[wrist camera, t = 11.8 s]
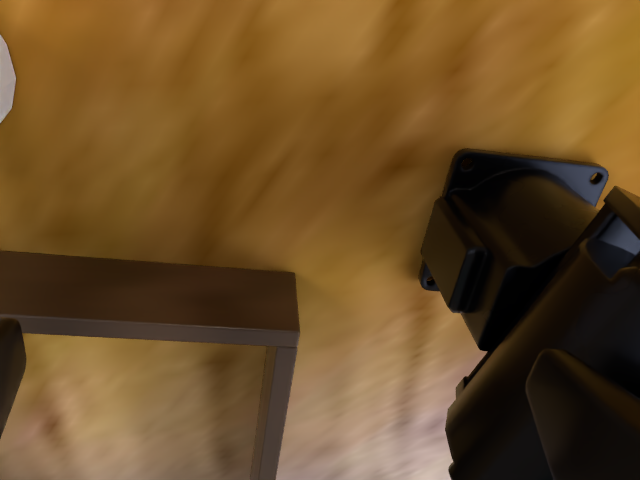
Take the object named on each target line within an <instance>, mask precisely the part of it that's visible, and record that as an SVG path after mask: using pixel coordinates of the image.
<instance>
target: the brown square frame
mask: <svg viewBox="0 0 640 480" xmlns="http://www.w3.org/2000/svg"><path fill="white" fill-rule="evenodd" d="M0 317H3V318H15V319H17V320H18V321H19V323H20V325H21V329H22V333H31V334H50V335H69V336H88V337H107V338H126V339H145V340H163V341H182V342H201V343H220V344H239V345H258V346H267V352H266V360H265V368H264V375H263V383H262V391H261V398H260V406H259V414H258V421H257V429H256V437H255V445H254V452H253V460H252V468H251V475H250V480H276V474H277V468H278V462H279V456H280V450H281V444H282V438H283V432H284V426H285V420H286V414H287V408H288V402H289V396H290V390H291V384H292V378H293V373H294V367H295V361H296V355H297V346H298V342H299V336H300V326H299V314H298V302H297V291H296V279H295V273H290V272H277V271H264V270H250V269H237V268H223V267H210V266H197V265H183V264H170V263H157V262H143V261H130V260H117V259H103V258H90V257H77V256H63V255H50V254H36V253H23V252H10V251H0Z"/></svg>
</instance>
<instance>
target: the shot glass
mask: <svg viewBox="0 0 640 480" xmlns="http://www.w3.org/2000/svg"><path fill="white" fill-rule="evenodd" d="M15 83H16V76H15V72H14V69H13V65H12V61H11V58H10V54H9V51H8V47H7V44H6V42H5V41H4V40H3V38H2V37H1V35H0V123H1V122H2V121H3V119H4V118H5V117H6V115H7V114H8V113H9V111H10V110H11V109H12V103H13V97H14V90H15Z"/></svg>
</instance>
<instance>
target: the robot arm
mask: <svg viewBox="0 0 640 480" xmlns="http://www.w3.org/2000/svg"><path fill="white" fill-rule="evenodd" d="M466 158H471V161H470V163H469V164H468V165H467V166H463V167H462V166H461V164H462V162H463V160H465V159H466ZM595 173H597V176H596V177H595V178H594V179H593V180H590V178H591V177H592V175H594V174H595ZM608 176H609V175H608V171H607V170H606V169H605V168H604V167H602V166H601V165H599V164H596V163H588V162H579V161H571V160H562V159H554V158H545V157H537V156H528V155H520V154H511V153H503V152H494V151H486V150H477V149H469V148H467V149H462V150H460V151H458V152H457V153H456V154H455V155H454V157H453V159H452V162H451V166H450V169H449V173H448V176H447V179H446V183H445V186H444V190H443V193H442V197H439V198H438V199H437V200H436V201H435V202H434V206H433V209H432V213H431V216H430V220H429V223H428V227H427V230H426V234H425V237H424V241H423V244H422V248H421V254H422V256H423V262H422V265H421V269H420V272H419V277H418V279H419V281H420V284H421V286H422V287H423V288H424V289H425V290H430V291H440V292H441V294H442V297H443V299H444V301H445V303H446V305H447V306H448V308H449V309H450V310H451V311H452V312H453V313H461V315H462V317H463V319H464V321H465V323H466V325H467V327H468V329H469V331H470V332H471V334H472V336H473V338H474V340H475V342H476V344H477V346H478V348H479V349H480V350H482V351H488V352H487V354H486V355H485V356H484V357H483V359H482V360H481V361H480V362H479V364H478V365H477V366H476V367H475V369H474V370H473V371H472V372H471V374H470V375H469V376H468V377H467V376H465V377H464V378H463V379H462V380H461V382H460V383H459V384H458V385H457V387H456V400H455V401H454V402H453V404H452V405H451V406H450V407H449V409H448V412H447V420H446V427H445V431H446V435H447V439H448V444H449V448H450V452H451V456H452V459H453V463H452V464H451V465H450V466H449V474H450V477H451V480H640V197H638V196H636V195H634V194H632V193H630V192H628V191H626V190H624V189H622V188H620V187H618V186H614V187H613V189H612V190H611V191H610V192H609V194H608V195H607V196H606V198H605V199H604V200H603V201H604V202H605V205H604V206H603V207H602V208H601V210H600V211H599V210H598V209H596V208H595V206H596V204H597V202H598V200H599V197H600V195H601V193H602V191H603V189H604V187H605V184H606V182H607V180H608ZM432 276H433V278H434V279H432V280H430V281H427V279H428V278H429V277H432ZM25 368H26V353H25V347H24V341H23V335H22V329H21V325H20V323H19V321H18V320H17V319H15V318H3V317H0V439H1V436H2V433H3V430H4V428H5V425H6V422H7V419H8V416H9V414H10V411H11V408H12V405H13V403H14V400H15V397H16V394H17V391H18V389H19V386H20V383H21V380H22V378H23V375H24V372H25Z"/></svg>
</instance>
